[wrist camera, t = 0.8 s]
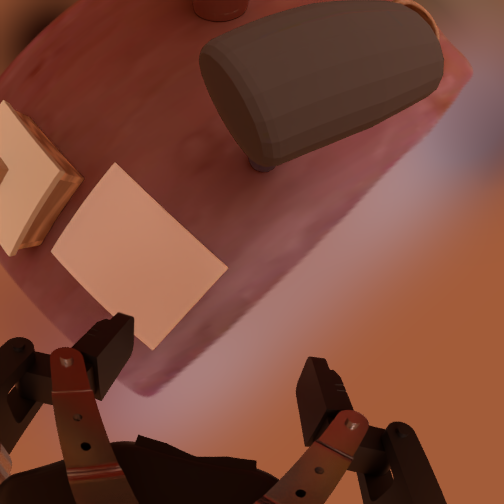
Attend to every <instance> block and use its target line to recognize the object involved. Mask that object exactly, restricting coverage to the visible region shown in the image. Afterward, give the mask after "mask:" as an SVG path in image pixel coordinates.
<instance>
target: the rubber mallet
mask: <svg viewBox="0 0 504 504" xmlns="http://www.w3.org/2000/svg"><path fill="white" fill-rule="evenodd" d="M199 65H200V69H201V74H202V76H203V79H204V82H205V85H206V87H207V90H208V92H209V94H210V97H211V99H212V101H213V103H214V105H215V107H216V109H217V111H218V113H219V115H220V116H221V118H222V120H223V122H224V123H225V125H226V127H227V128H228V130H229V132H230V133H231V135H232V136H233V138H234V139H235V141H236V142H237V144H238V145H239V146H240V148H241V149H242V150H243V152H244V153H245V154H246V155H247V156H248V157H249V162H250V164H251V166H252V167H253V168H254V169H255V170H258V171H261V172H268V171H270V170H272V169H274V168H275V167H276V166H278V165H280V164H283V163H285V162H287V161H290V160H292V159H294V158H297V157H299V156H302V155H304V154H307V153H309V152H311V151H314V150H316V149H319V148H321V147H324V146H326V145H329V144H331V143H334V142H336V141H339V140H341V139H343V138H346V137H348V136H351V135H353V134H356V133H358V132H361V131H363V130H366V129H368V128H371V127H373V126H374V125H376V124H378V123H380V122H382V121H384V120H386V119H387V118H389V117H391V116H393V115H395V114H397V113H399V112H401V111H403V110H405V109H406V108H408V107H410V106H412V105H413V104H415V103H417V102H419V101H421V100H422V99H424V98H426V97H428V96H429V95H430V94H431V93H432V92H434V91H435V90H436V89H437V87H438V85H439V83H440V81H441V79H442V76H443V68H444V58H443V54H442V50H441V46H440V42H439V40H438V39H437V37H436V35H435V33H434V32H433V30H432V28H431V26H430V25H429V24H428V23H427V22H426V21H425V20H424V19H423V18H422V17H421V16H420V15H419V14H418V13H417V12H415V11H413V10H412V9H410V8H408V7H406V6H404V5H403V4H400V3H395V2H390V1H381V0H345V1H331V2H321V3H313V4H308V5H304V6H300V7H297V8H293V9H289V10H286V11H282V12H279V13H276V14H273V15H269V16H266V17H264V18H261V19H258V20H256V21H253V22H250V23H248V24H245V25H243V26H241V27H238V28H236V29H234V30H231V31H229V32H227V33H225V34H222V35H220V36H218V37H216V38H214V39H212V40H210V41H209V42H208V43H207V44H206V45H205V46H204V47H203V48H202V50H201V53H200V56H199Z"/></svg>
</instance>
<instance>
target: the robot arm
mask: <svg viewBox="0 0 504 504" xmlns="http://www.w3.org/2000/svg"><path fill="white" fill-rule="evenodd" d="M192 1H193V9H194V11H195V13H196V14H197V15H198V16H200V17H201V18H203V19H206V20H210V21H228V20H232V19H235V18H237V17H239V16H241V15H242V14H243V13H244V12H245V11H246V10H247V6H248V1H249V0H192ZM133 344H134V317H133V316H130V315H127V314H123V313H120V312H118V313H117V314H116V315H115V316H114V317H113V318H112V319H111V320H108V319H104V320H102V321H99V322H97V323H96V324H95V325H94V326H93V327H92V328H91V329H90V330H89V331H88V332H87V334H85V335H84V336H83V337H82V338H81V339H80V340H79V341H78V342H77V343H76V344H75V345H74V346H73V347H72V348H69V347H62V348H58V349H56V350H54V351H53V352H52V353H51V355H49V354H44V353H40V352H35V350H34V345H33V343H32V342H31V341H30V340H28V339H26V338H23V337H16V338H12V339H10V340H8V341H7V342H6V343H5V344H4V345H2V346H1V347H0V504H324V503H325V502H326V500H327V499H328V497H329V496H330V495H331V493H332V492H333V490H334V489H335V487H336V486H337V484H338V483H339V481H340V480H341V478H342V477H343V475H344V473H345V472H346V470H350V471H354V472H357V476H358V481H359V485H360V490H361V494H362V499H363V504H447V503H446V501H445V499H444V496H443V494H442V491H441V489H440V486H439V484H438V482H437V479H436V477H435V475H434V473H433V470H432V468H431V466H430V463H429V461H428V459H427V457H426V455H425V452H424V450H423V448H422V446H421V444H420V442H419V440H418V438H417V436H416V434H415V431H414V430H413V429H412V428H411V427H410V426H409V425H407V424H405V423H403V422H393V423H390V424H389V425H388V427H387V428H386V429H381V428H377V427H373V426H369V422H368V420H367V419H366V418H365V417H364V416H363V415H362V414H360V413H359V412H356V411H354V410H353V407H352V405H351V402H350V399H349V397H348V395H347V393H346V390H345V387H344V386H343V382H342V380H341V377H340V376H339V375H338V374H337V373H336V372H335V371H334V370H330V369H329V367H328V364H327V361H326V359H324V358H317V357H308V359H307V361H306V363H305V366H304V368H303V371H302V373H301V376H300V378H299V380H298V383H297V387H296V397H297V403H298V409H299V414H300V420H301V426H302V432H303V437H304V444H305V446H307V447H309V448H308V450H307V451H306V452H305V453H304V454H303V455H302V457H301V458H300V459H299V460H298V461H297V462H296V463H295V464H294V465H293V467H292V468H291V469H290V470H289V471H288V472H287V473H286V474H285V475H284V476H283V477H282V478H281V479H280V480H279V479H277V478H276V477H274V476H273V475H271V474H269V473H267V472H264V471H262V470H259V469H256V461H255V460H247V459H239V458H233V457H196V456H193V455H190V454H188V453H186V452H184V451H181V450H179V449H177V448H175V447H173V446H171V445H169V444H167V443H164V442H160V441H157V440H153V439H150V438H147V437H144V436H140V435H138V437H137V440H136V442H129V441H121V442H112V443H110V442H109V439H108V436H107V434H106V431H105V428H104V425H103V422H102V419H101V416H100V413H99V410H98V407H97V404H96V400H95V399H98V400H100V401H102V399H103V398H104V396H105V395H106V393H107V392H108V390H109V388H110V387H111V385H112V384H113V382H114V381H115V379H116V378H117V376H118V375H119V373H120V372H121V370H122V368H123V367H124V365H125V364H126V362H127V361H128V359H129V358H130V356H131V354H132V351H133ZM14 385H15V387H14V388H13V389H12V390H11V388H12V387H13V386H14ZM10 390H11V392H10V393H9V391H10ZM8 393H9V394H8ZM43 403H46V404H50V405H53V408H54V415H55V420H56V426H57V431H58V436H59V441H60V445H61V450H62V454H63V458H64V460H61V461H58V462H55V463H52V464H49V465H45V466H42V467H39V468H35V469H31V470H28V471H24V472H20V473H17V474H13V475H11V476H10V471H11V468H12V461H11V458H10V456H9V454H10V453H11V451H12V450H13V448H14V446H15V445H16V443H17V442H18V440H19V438H20V437H21V435H22V434H23V432H24V431H25V429H26V428H27V426H28V425H29V423H30V422H31V420H32V419H33V418H34V416H35V415H36V413H37V412H38V410H39V409H40V407H41V406H42V404H43ZM390 469H391V470H392V473H393V477H394V480H393V478H392V474H391V471H390Z"/></svg>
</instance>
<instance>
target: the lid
mask: <svg viewBox="0 0 504 504" xmlns="http://www.w3.org/2000/svg"><path fill="white" fill-rule="evenodd" d="M64 174H65V171H64V170H63V169H62V167H61V166H60V165H59V164H58V163H57V162H56V161H55V159H54V158H53V157H52V156H51V155H50V154H49V152H48V151H47V150H46V149H45V148H44V147H43V145H42V144H41V143H40V142H39V141H38V139H37V138H36V137H35V136H34V134H33V133H32V132H31V131H30V130H29V128H28V127H27V126H26V125H25V123H24V122H23V121H22V119H21V118H20V117H19V116H18V114H17V113H16V112H15V110H14V109H13V108H12V106H11V105H10V104H9V103H8V102H7V101H5V100H3V101H2V103H1V104H0V245H1V246H2V247H3V249H4V250H5V252H6V253H7V254H8V256H9V257H10V256H14V255H16V253H17V251H18V249H19V247H20V245H21V243H22V241H23V239H24V237H25V236H26V234H27V232H28V230H29V228H30V227H31V225H32V223H33V221H34V220H35V218H36V216H37V215H38V213H39V211H40V210H41V208H42V206H43V205H44V203H45V202H46V200H47V198H48V197H49V195H50V194H51V192H52V191H53V189H54V188H55V186H56V185H57V183H58V182H59V181H60V179H61V178H62V176H63V175H64Z"/></svg>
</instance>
